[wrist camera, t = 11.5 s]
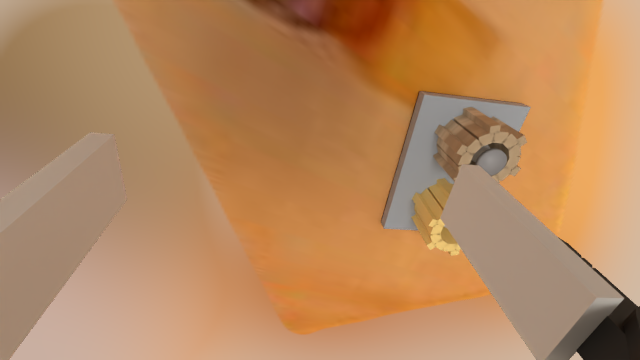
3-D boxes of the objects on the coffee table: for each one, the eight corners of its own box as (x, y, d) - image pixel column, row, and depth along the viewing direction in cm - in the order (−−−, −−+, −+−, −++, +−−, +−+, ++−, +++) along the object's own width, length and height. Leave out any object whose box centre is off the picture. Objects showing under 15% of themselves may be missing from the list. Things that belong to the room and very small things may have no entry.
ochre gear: (419, 175, 43) (437, 201, 38) (476, 180, 45) (501, 205, 40) (402, 225, 48) (416, 254, 42) (455, 228, 49) (475, 256, 44)
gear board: (419, 91, 39) (449, 113, 32) (522, 103, 41) (571, 127, 34) (381, 222, 49) (397, 260, 42) (465, 226, 51) (494, 264, 44)
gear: (444, 103, 38) (468, 121, 33) (508, 110, 40) (541, 129, 35) (422, 166, 43) (441, 190, 37) (481, 170, 44) (507, 195, 39)
